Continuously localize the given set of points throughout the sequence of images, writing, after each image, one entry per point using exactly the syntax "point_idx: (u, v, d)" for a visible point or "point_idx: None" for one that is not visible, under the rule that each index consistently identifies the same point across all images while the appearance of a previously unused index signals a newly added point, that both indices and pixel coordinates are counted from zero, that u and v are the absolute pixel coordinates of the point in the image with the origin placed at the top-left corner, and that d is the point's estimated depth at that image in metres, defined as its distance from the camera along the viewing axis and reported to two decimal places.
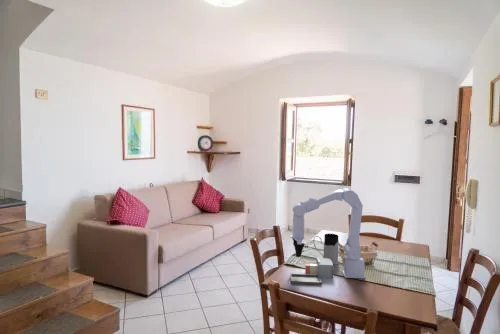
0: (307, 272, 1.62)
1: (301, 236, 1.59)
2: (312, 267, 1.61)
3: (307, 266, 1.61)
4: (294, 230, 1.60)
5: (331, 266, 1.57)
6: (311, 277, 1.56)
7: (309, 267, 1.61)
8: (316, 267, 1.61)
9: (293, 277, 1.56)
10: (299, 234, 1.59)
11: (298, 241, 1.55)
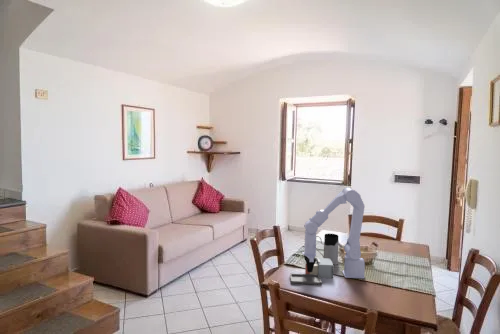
0: (307, 272, 1.62)
1: (313, 253, 1.59)
2: None
3: None
4: (306, 247, 1.60)
5: (331, 266, 1.57)
6: (311, 277, 1.56)
7: None
8: (316, 267, 1.61)
9: (293, 277, 1.56)
10: (311, 251, 1.59)
11: (310, 259, 1.55)
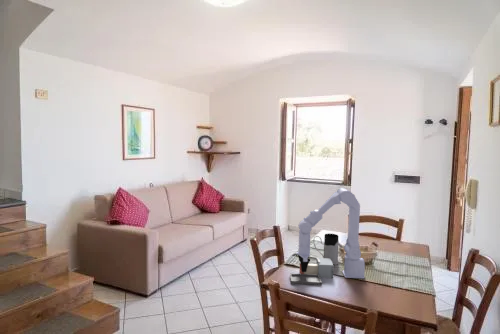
0: (301, 272, 1.62)
1: (307, 253, 1.60)
2: None
3: None
4: (300, 247, 1.60)
5: (331, 266, 1.57)
6: (311, 277, 1.56)
7: None
8: (310, 267, 1.61)
9: (293, 277, 1.56)
10: (305, 251, 1.59)
11: (304, 258, 1.55)
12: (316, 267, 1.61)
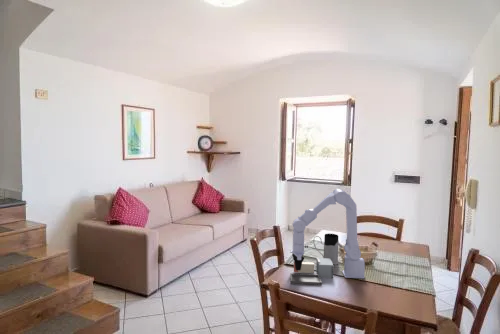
0: (295, 270, 1.62)
1: (301, 251, 1.60)
2: None
3: None
4: (294, 245, 1.60)
5: (331, 266, 1.57)
6: (311, 277, 1.56)
7: None
8: (304, 265, 1.61)
9: (293, 277, 1.56)
10: (299, 249, 1.59)
11: (298, 257, 1.55)
12: (310, 265, 1.61)
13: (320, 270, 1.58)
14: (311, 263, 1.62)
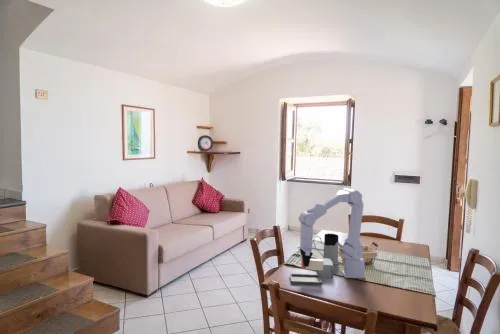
0: (303, 267, 1.52)
1: (309, 246, 1.50)
2: (309, 262, 1.52)
3: None
4: (302, 240, 1.51)
5: (331, 266, 1.57)
6: (311, 277, 1.56)
7: None
8: (313, 262, 1.52)
9: (293, 277, 1.56)
10: (307, 244, 1.50)
11: (306, 252, 1.46)
12: (319, 262, 1.52)
13: (320, 270, 1.58)
14: (320, 260, 1.53)
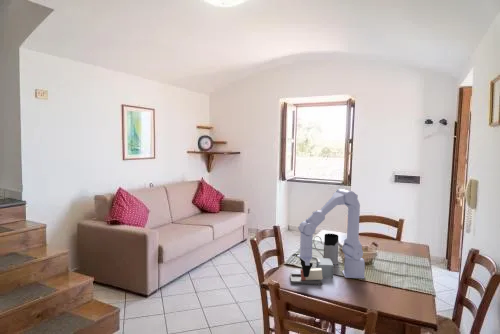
0: (303, 278, 1.53)
1: (309, 256, 1.51)
2: None
3: (302, 272, 1.53)
4: (302, 249, 1.51)
5: (331, 266, 1.57)
6: None
7: None
8: (311, 272, 1.52)
9: (293, 277, 1.56)
10: (307, 254, 1.50)
11: (306, 262, 1.46)
12: (318, 272, 1.52)
13: None
14: (319, 269, 1.53)
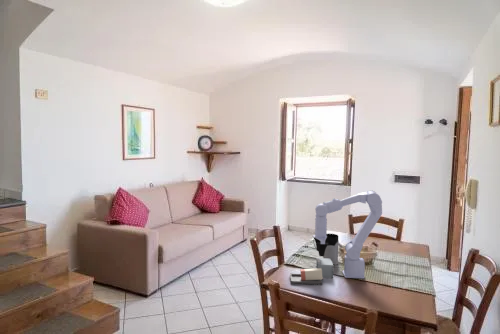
0: (303, 278, 1.53)
1: (324, 236, 1.60)
2: (307, 272, 1.52)
3: (302, 272, 1.53)
4: (317, 230, 1.61)
5: (331, 266, 1.57)
6: None
7: (304, 273, 1.53)
8: (311, 272, 1.52)
9: (293, 277, 1.56)
10: (322, 234, 1.60)
11: (322, 241, 1.56)
12: (318, 272, 1.52)
13: None
14: (319, 269, 1.53)
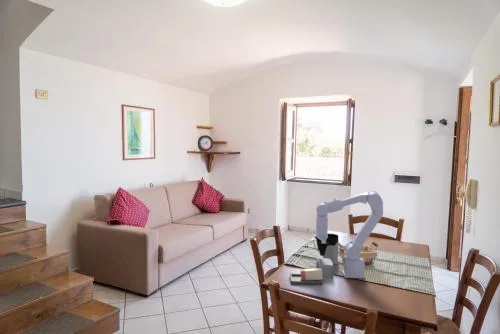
0: (303, 278, 1.53)
1: (325, 235, 1.61)
2: (307, 272, 1.52)
3: (302, 272, 1.53)
4: (318, 229, 1.62)
5: (331, 266, 1.57)
6: None
7: (304, 273, 1.53)
8: (311, 272, 1.52)
9: (293, 277, 1.56)
10: (323, 233, 1.61)
11: (322, 240, 1.57)
12: (318, 272, 1.52)
13: None
14: (319, 269, 1.53)
